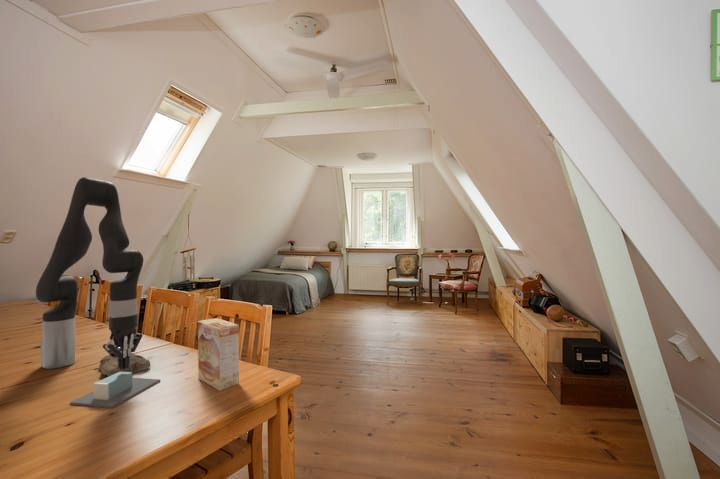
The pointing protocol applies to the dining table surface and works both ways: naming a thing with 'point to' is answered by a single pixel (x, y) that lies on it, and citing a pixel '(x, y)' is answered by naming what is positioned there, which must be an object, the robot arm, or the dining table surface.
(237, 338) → the coffeecake box
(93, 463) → the dining table surface
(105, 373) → the clay tablet
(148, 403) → the dining table surface
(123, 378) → the block
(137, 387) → the mat
